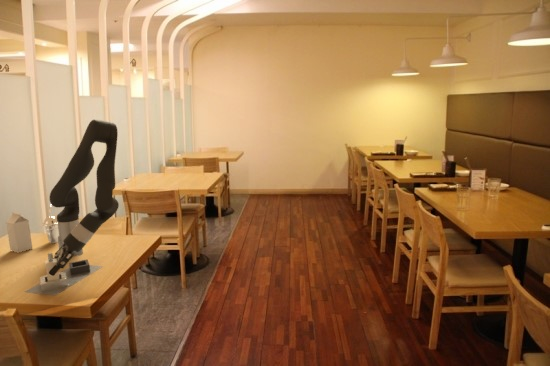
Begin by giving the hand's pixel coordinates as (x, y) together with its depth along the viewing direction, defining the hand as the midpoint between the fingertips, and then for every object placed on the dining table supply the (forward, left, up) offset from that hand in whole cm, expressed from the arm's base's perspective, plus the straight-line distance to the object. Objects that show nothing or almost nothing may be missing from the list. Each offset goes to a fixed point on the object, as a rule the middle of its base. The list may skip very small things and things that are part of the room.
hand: (50, 270), depth 164 cm
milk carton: (-49, +34, -8) cm, 60 cm away
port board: (+1, +7, -8) cm, 10 cm away
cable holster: (+1, +15, -6) cm, 16 cm away
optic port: (+1, 0, -6) cm, 6 cm away
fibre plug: (+1, 0, -6) cm, 6 cm away
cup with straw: (-42, +48, -8) cm, 65 cm away
